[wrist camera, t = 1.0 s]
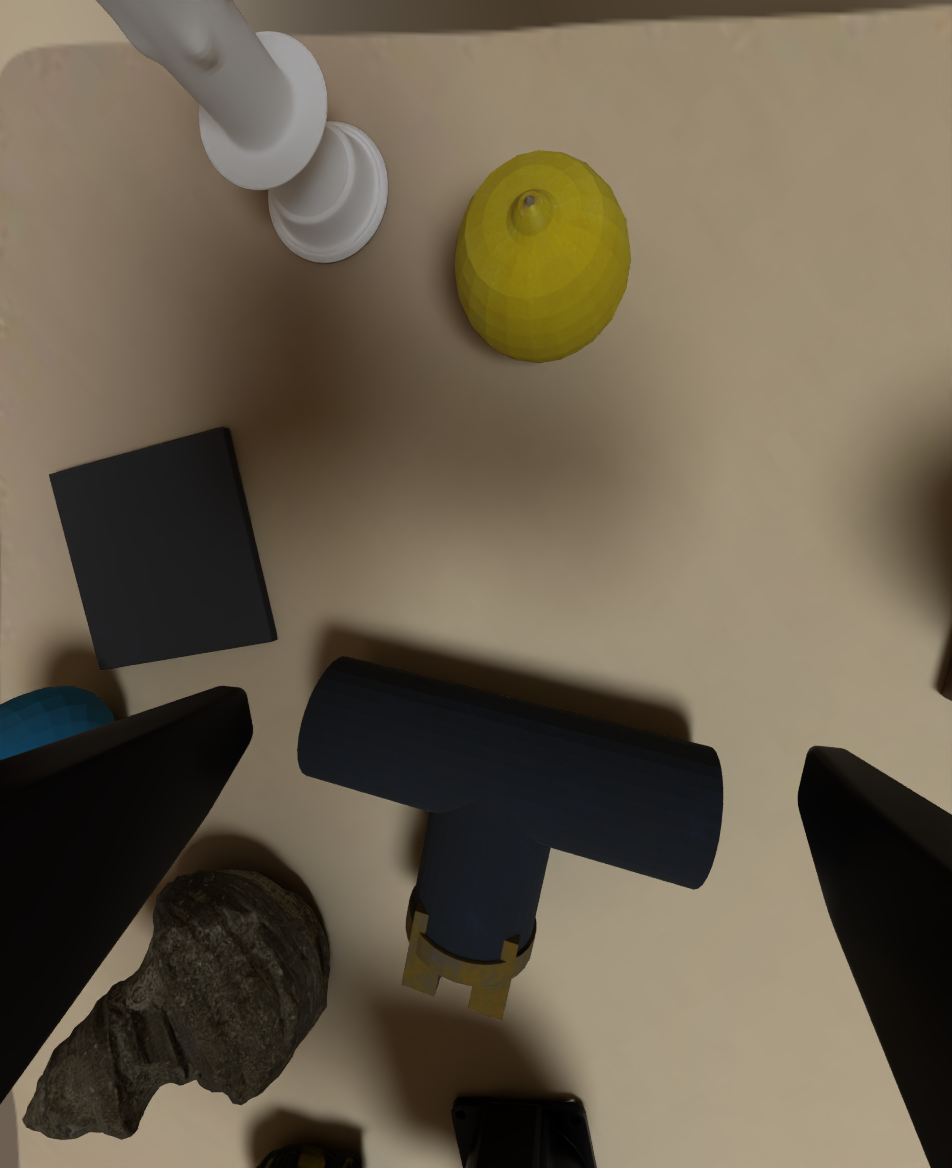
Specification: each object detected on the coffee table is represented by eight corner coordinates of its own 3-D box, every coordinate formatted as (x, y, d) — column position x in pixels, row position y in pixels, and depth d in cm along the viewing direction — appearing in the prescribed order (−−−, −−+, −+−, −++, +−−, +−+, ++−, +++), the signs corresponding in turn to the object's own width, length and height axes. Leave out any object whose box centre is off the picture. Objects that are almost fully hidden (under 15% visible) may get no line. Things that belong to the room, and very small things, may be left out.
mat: (278, 639, 25) (272, 641, 25) (108, 667, 28) (99, 670, 27) (229, 428, 25) (222, 426, 24) (57, 474, 27) (48, 474, 26)
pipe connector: (653, 1092, 19) (265, 951, 21) (638, 969, 24) (328, 868, 26) (735, 786, 17) (305, 675, 20) (700, 725, 22) (364, 644, 25)
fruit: (584, 207, 20) (582, 18, 13) (646, 340, 21) (682, 232, 13) (457, 287, 22) (385, 160, 14) (517, 411, 22) (478, 354, 14)
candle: (372, 103, 22) (117, -384, 10) (402, 240, 22) (191, -74, 10) (257, 153, 23) (-91, -230, 11) (287, 281, 23) (-17, 43, 11)
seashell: (16, 882, 22) (8, 1086, 24) (68, 1135, 14) (52, 1421, 16) (276, 804, 31) (259, 959, 32) (402, 938, 23) (372, 1138, 24)
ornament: (75, 656, 28) (-198, 731, 18) (151, 679, 27) (-93, 769, 17) (64, 799, 29) (-195, 940, 20) (136, 825, 29) (-97, 984, 19)
